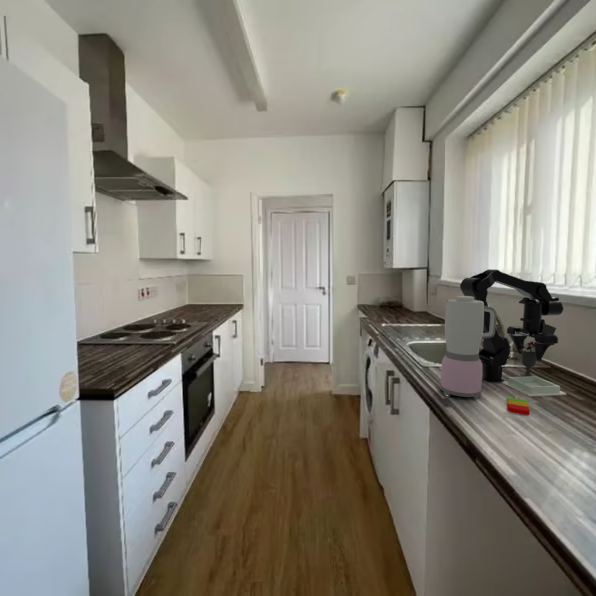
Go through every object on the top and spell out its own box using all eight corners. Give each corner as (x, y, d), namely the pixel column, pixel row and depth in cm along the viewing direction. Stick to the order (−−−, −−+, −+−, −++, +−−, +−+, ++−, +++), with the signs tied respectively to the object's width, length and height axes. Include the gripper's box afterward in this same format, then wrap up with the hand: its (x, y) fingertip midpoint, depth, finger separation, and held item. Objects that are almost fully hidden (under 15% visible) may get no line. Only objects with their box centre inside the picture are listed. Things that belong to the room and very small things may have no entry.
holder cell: (529, 396, 116) (530, 389, 116) (502, 382, 129) (502, 376, 128) (566, 394, 117) (566, 387, 117) (535, 381, 130) (536, 374, 130)
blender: (443, 399, 114) (448, 298, 110) (436, 385, 126) (440, 294, 122) (497, 403, 110) (504, 299, 107) (485, 389, 122) (491, 295, 119)
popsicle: (507, 413, 104) (507, 407, 104) (506, 396, 117) (506, 391, 117) (529, 417, 102) (530, 411, 101) (526, 399, 115) (526, 394, 115)
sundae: (542, 379, 132) (545, 339, 131) (524, 379, 133) (527, 339, 131) (531, 373, 139) (534, 335, 137) (513, 373, 139) (516, 335, 138)
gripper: (574, 319, 125) (570, 363, 127) (533, 312, 144) (530, 350, 145) (544, 320, 124) (541, 364, 125) (507, 312, 142) (504, 351, 144)
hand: (529, 357), depth 135 cm, fingers open, 9 cm apart
